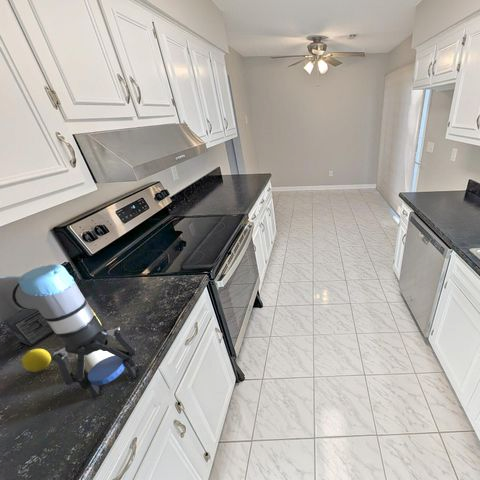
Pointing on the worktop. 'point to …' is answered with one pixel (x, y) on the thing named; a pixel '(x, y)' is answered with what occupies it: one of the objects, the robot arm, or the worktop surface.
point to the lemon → (36, 360)
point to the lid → (106, 370)
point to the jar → (94, 358)
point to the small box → (29, 326)
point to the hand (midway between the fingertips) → (116, 382)
